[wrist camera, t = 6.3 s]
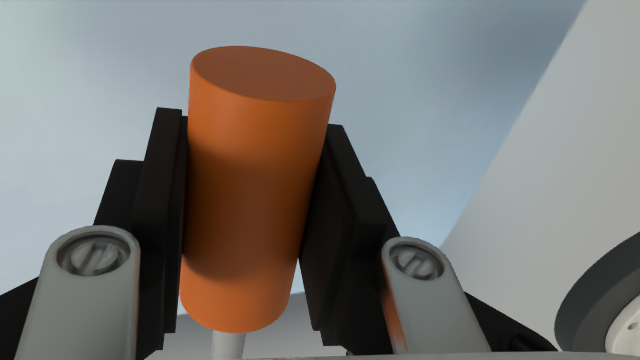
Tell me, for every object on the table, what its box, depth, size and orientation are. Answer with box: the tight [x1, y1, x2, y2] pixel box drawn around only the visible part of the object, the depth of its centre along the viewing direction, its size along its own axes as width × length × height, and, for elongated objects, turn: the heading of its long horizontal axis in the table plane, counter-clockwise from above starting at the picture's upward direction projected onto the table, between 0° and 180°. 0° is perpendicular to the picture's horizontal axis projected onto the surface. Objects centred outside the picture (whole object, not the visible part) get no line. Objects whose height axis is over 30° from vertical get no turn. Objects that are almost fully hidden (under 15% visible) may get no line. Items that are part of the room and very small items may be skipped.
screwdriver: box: [179, 46, 336, 360], centre depth 12 cm, size 3×12×3 cm, turn 168°
